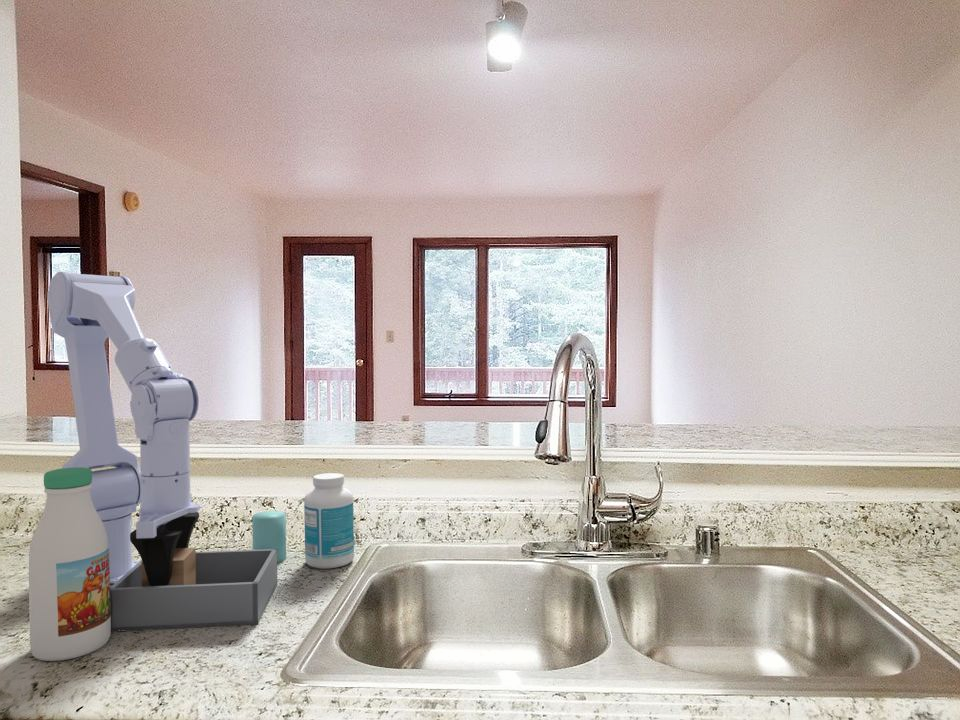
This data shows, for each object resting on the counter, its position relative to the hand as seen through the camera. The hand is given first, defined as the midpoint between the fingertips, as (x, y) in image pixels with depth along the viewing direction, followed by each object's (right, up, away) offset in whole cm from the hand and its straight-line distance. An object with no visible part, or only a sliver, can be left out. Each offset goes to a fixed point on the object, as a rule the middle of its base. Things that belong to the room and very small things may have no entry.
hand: (167, 577), depth 85 cm
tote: (+4, -4, +1) cm, 6 cm away
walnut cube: (0, -2, 0) cm, 2 cm away
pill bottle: (+17, -4, +17) cm, 25 cm away
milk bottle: (-6, -5, -11) cm, 13 cm away
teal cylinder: (+7, -3, +19) cm, 20 cm away
